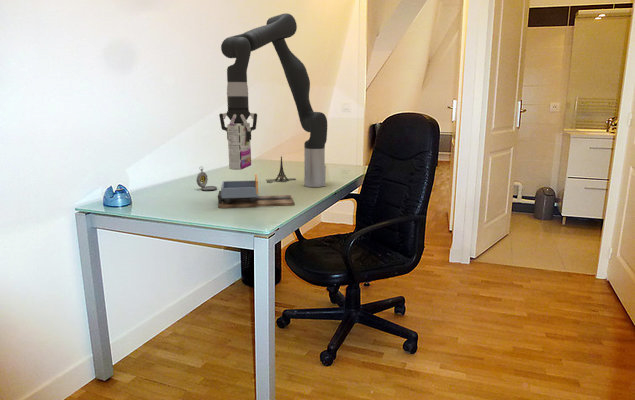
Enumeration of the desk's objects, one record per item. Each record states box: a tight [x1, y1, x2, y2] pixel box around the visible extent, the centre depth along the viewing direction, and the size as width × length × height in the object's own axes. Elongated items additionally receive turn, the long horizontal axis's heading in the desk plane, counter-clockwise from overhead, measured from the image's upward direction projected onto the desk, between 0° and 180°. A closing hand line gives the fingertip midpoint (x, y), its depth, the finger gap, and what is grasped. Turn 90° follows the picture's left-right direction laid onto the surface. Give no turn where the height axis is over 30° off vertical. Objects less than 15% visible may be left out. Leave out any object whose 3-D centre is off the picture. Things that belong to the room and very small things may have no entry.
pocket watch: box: [196, 166, 218, 192], centre depth 196 cm, size 8×8×10 cm
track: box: [217, 190, 296, 209], centre depth 173 cm, size 28×14×4 cm, turn 99°
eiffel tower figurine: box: [265, 155, 297, 184], centre depth 218 cm, size 15×10×13 cm
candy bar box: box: [226, 122, 252, 171], centre depth 167 cm, size 11×5×16 cm, turn 169°
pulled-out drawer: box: [220, 173, 259, 203], centre depth 171 cm, size 13×15×8 cm
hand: (239, 141), depth 167 cm, fingers closed on candy bar box, 6 cm apart
